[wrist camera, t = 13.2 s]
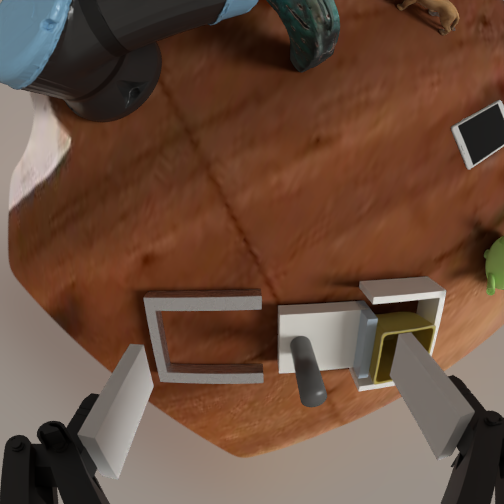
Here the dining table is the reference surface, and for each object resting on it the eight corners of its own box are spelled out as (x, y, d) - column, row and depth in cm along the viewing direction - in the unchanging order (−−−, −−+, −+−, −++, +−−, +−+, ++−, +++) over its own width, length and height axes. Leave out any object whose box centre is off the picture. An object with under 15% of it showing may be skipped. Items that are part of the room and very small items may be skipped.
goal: (348, 369, 49) (358, 391, 43) (359, 281, 44) (373, 297, 39) (410, 360, 49) (424, 379, 43) (427, 276, 44) (446, 290, 38)
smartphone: (515, 138, 37) (468, 170, 39) (513, 138, 38) (466, 170, 40) (500, 98, 36) (450, 127, 38) (498, 99, 36) (448, 127, 38)
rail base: (163, 372, 49) (160, 381, 46) (148, 290, 45) (143, 297, 42) (262, 373, 49) (263, 382, 46) (260, 288, 45) (261, 296, 42)
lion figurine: (374, 6, 33) (396, -20, 24) (375, -17, 32) (396, -44, 23) (453, 42, 34) (484, 27, 25) (452, 18, 32) (481, 1, 24)
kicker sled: (277, 362, 48) (285, 428, 33) (277, 305, 45) (288, 365, 31) (356, 355, 47) (386, 415, 33) (364, 300, 45) (403, 352, 31)
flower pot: (410, 299, 45) (437, 325, 37) (402, 345, 48) (424, 375, 39) (360, 304, 45) (382, 333, 37) (355, 352, 48) (372, 385, 39)
